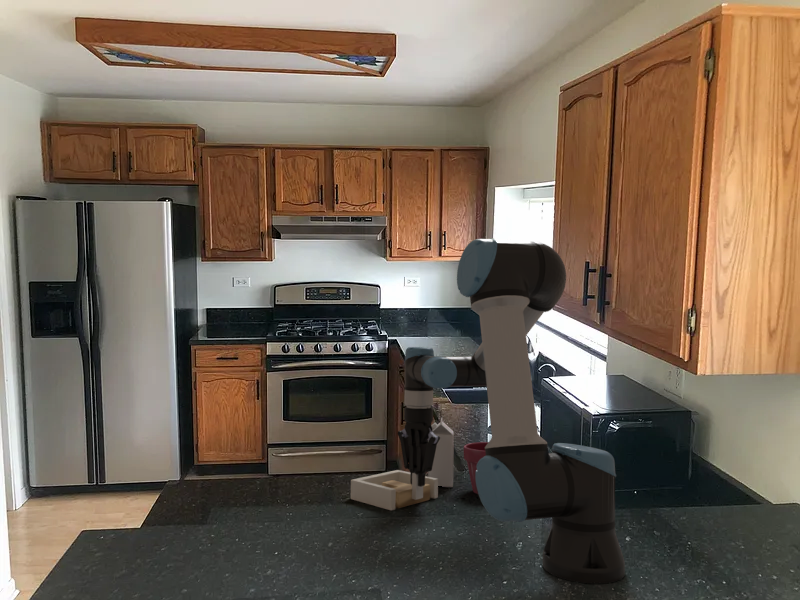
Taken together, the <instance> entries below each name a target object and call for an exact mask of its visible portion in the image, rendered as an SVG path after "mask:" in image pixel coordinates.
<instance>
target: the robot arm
mask: <svg viewBox="0 0 800 600" xmlns="http://www.w3.org/2000/svg"><path fill="white" fill-rule="evenodd" d="M458 261H459V262H458V266H457V272H456V285H457V289H458V291H459V293H460V294H461V295H462V296H464V297H465V298H470V299H469V300H470V308H471V310H472V311H473V312H475V313H476V314H477V315H478V316H479V323H480V333H481V341H482V342H481V343H480V344H479V346H478V348H477V349H476V351H475V352H474V353H473V355H470V356H469V355H467V356H466V355H465V356H463V355H461V356H456V355H455V356H451V355H448V356H447V355H446V356H445V355H444V356H439V355H438V356H437V355H436V356H435V353H434V349H433V347H429V346H426V347H425V346H409V347H407V348H406V349H405V353H404V397H403V398H404V400H403V401H404V402H403V405H405V407H404V409H403V420H404V421H405V424H404V428H403V429H402V430H398V431H397V436H398V438H399V442H400V447H401V449H400V450H401V455H402V460H403V467H404V469H405V470H408V472H410V473H411V474H410V478H411V479H410V483H411V485H412V499H415V500H417V499H421V498H423V486H425V476H426V473H428V472H429V471H431V470H432V466H433V461H434V456H435V451H436V446H437V443H438V442H439V440H440V436H436V435H435V434H434V433H433V432H432V431H433V429H432V426H431V425H432V424H433V423H432V422H433V421H434V408H433V407H432V406H433V405H434V389H446V388H449V387H453V388H455V387H486V390H487V393H486V394H487V401H488V411H489V422H490V432H491V438H490V440H489V441H488V442H489V443H488V444H487V445H486V446H485V453H486V456H484V457H483V458H481V459H480V460H479V461H478V463H477V466H476V468H477V470H476V474H475V478H476V486H477V490H478V494H477V495H478V497H479V499H480V502H481V504H482V505H483V507H484V509H485V510H486V511H487V513H488V514H489V515H490V517H492V518H493V519H495V520H497V521H499V522H518V523H521V522H524V521H530V520H540V519H550V518H551V526H550V527H551V528H550V530H549V533H548V536H547V540H546V543H545V544H544V547H543V551H542V568H543V569H544V570H545V571H546V572H547V573H549V574H551V575H553V576H555V577H557V578H559V579H560V578H561V579H563V580H567V581H571V582H576V583H583V584H597V585H598V584H609V583H613V582H617V581H620V580H621V579H623V578H624V577H625V573H626V562H625V559H624V555H623V552H622V551H623V550H622V549H621V545H620V542H619V539H618V536H617V533H616V477H617V474H616V467H615V466H616V462H615V458H614V456H613V455H612V454H611V453H610V452H609V451H606V450H604V449H600V448H596V447H591V446H586V445H580V444H575V443H566V442H565V443H563V442H557V443H555V442H554V444H553V445H552V447H551V450H550V451H551V452H549V448H548V442H547V440H545V439H544V438H543V437H541V436H540V434H539V431H538V425H537V417H536V416H537V415H536V407H535V399H534V392H533V391H534V389H533V383H532V382H533V381H532V375H531V366H530V358H529V356H530V355H529V350H528V349H529V348H528V341H527V335H528V334H529V332H530V331H531V330H532V328H533V327H534V326H535V325H536V323H537V322H538V321H539V319H540V318H541V317H542V315H543V314H544V313H547V312H550V311H552V310H553V309H554V308H555V306H556V305H557V303H558V302H559V301H560V300H561V298H562V295H563V294H564V290H565V288H566V283H567V271H566V267H565V266H566V265H565V264H564V260H563V259H562V257H561V256H560V255H559V252H557V251H556V250H555V249H554V248H552V247H551V246H549V245H548V244H545V243H542V242H540V241H523V240H522V241H521V240H511V239H510V240H508V239H498V238H493V237H492V238H476V239H473V240H471V242H469V243H468V244H467V245H466V246H465V248H464V250H463V251H462V253H461V256H460V258H459V260H458Z"/></svg>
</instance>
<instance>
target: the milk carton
mask: <svg viewBox="0 0 800 600" xmlns="http://www.w3.org/2000/svg"><path fill="white" fill-rule="evenodd" d="M431 426H432V429H433V431H432V432H433V433H434V434H435V435H436V436H440V440H439V442H438V443H437V446H436V451H435V456H434V461H433V466H432V470H431V471H429V472H427V476H428V477H432V478H437V479H438V486H442V487H441V488H453V486H454V441H455V439H454V437H455V436H454V433H455V432H454V430H453V429H452V428H450V426H448V425H447V424H446V423H445V422H444V421H443V417H441V419H440V422H439V423H438V424H437V422H434V423H431Z"/></svg>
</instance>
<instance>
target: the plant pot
mask: <svg viewBox="0 0 800 600" xmlns="http://www.w3.org/2000/svg"><path fill="white" fill-rule="evenodd" d="M488 443H489V441H481V442H480V441H479V442H471V443H467V444H465V445H464V446H463V459H464V461H465V462H466V463H467V470H468V473H469V479H470V483H471V488H472V492H473V493H474V494H476V495H479V494H478V490H477V486H476V478H475V474H476V470H477V468H476V466H477V463H478V461H479V460H480V459H481V458H483V457H484V456H486V453H485V446H486V445H487V444H488Z"/></svg>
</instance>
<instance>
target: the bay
mask: <svg viewBox="0 0 800 600" xmlns="http://www.w3.org/2000/svg"><path fill="white" fill-rule="evenodd" d="M410 474H411V473H410V471H404V470H401V469H396V470H395V469H394V470H392V471H387V472H382V473H378V474H377V473H376V474H372V475H368V476H363V477H358V478H354V479H351V480H350V500H354V501H355V502H356V501H357V502H360V503H365V504H367V505H371V506H375V507H377V508H381V509H385V510H389V511H395V510H396V507H395V501H396V489H393V488H389V487H385V486H382V482H387V481H391V480H394V481H398V482H402V483H406V484H411V483H410V479H411V478H410ZM425 484H429V485H430V499H437V498H439V487H438V479H437V478H432V477H428V475H425Z"/></svg>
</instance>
